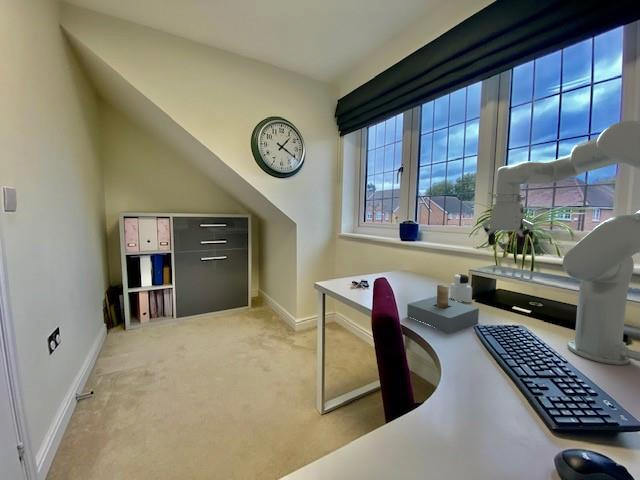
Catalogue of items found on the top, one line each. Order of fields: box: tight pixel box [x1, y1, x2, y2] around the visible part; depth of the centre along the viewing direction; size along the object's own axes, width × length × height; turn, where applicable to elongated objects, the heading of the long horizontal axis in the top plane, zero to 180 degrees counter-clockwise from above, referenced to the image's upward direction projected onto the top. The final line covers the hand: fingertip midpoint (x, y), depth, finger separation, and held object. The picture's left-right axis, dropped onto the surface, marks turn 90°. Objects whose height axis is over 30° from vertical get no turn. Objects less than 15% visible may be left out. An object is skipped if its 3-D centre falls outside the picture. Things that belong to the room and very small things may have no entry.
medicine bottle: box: [449, 273, 473, 303], centre depth 129 cm, size 7×7×12 cm
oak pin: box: [436, 284, 450, 309], centre depth 106 cm, size 4×4×12 cm
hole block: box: [406, 295, 480, 335], centre depth 106 cm, size 18×18×6 cm
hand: (505, 246), depth 104 cm, fingers open, 9 cm apart
